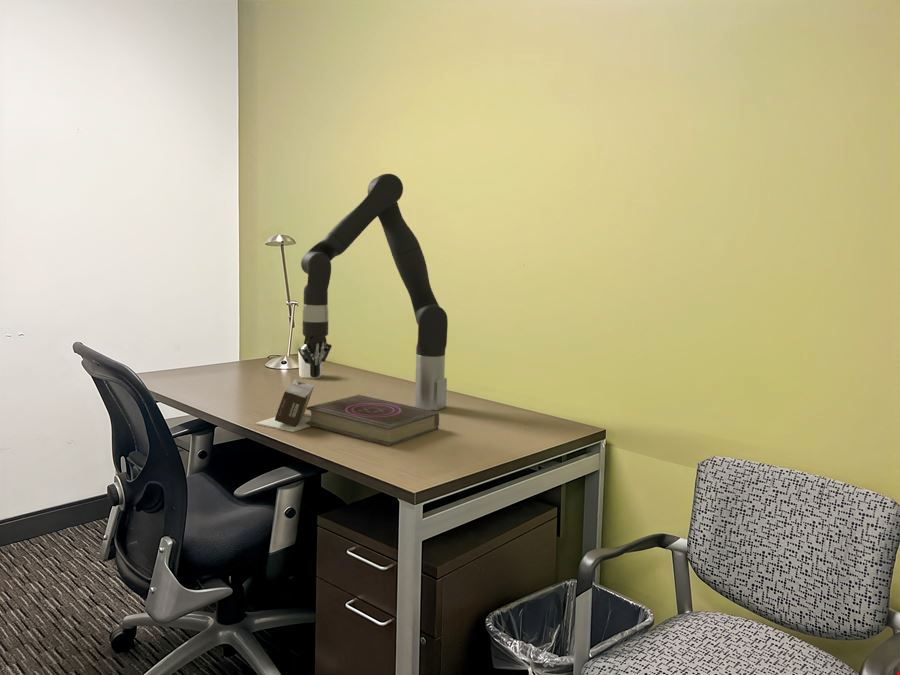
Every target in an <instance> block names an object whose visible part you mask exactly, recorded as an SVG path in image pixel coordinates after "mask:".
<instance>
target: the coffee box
mask: <svg viewBox="0 0 900 675" xmlns="http://www.w3.org/2000/svg"><path fill="white" fill-rule="evenodd" d="M314 388H315V385H313V384H310V383H307V382H304V381H301V380H298V379H294V381H293V382H292V383H290V385H289V386H288V387H287V388H286V390H285V391H284V392H283V395H282V398H281V401H280V404H279V406H278V409H277V413H276V415H275V416H274V417H275V421H278V422H281V423H284V424H287V425H292V426H295V427H296V426H297V424H298V423H299V421H300V419H301V418H302V416H303V415H304V414H306V411H307V409H306V407H308V404H309V402H310V398H311V396H312V392H313V390H314Z"/></svg>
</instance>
